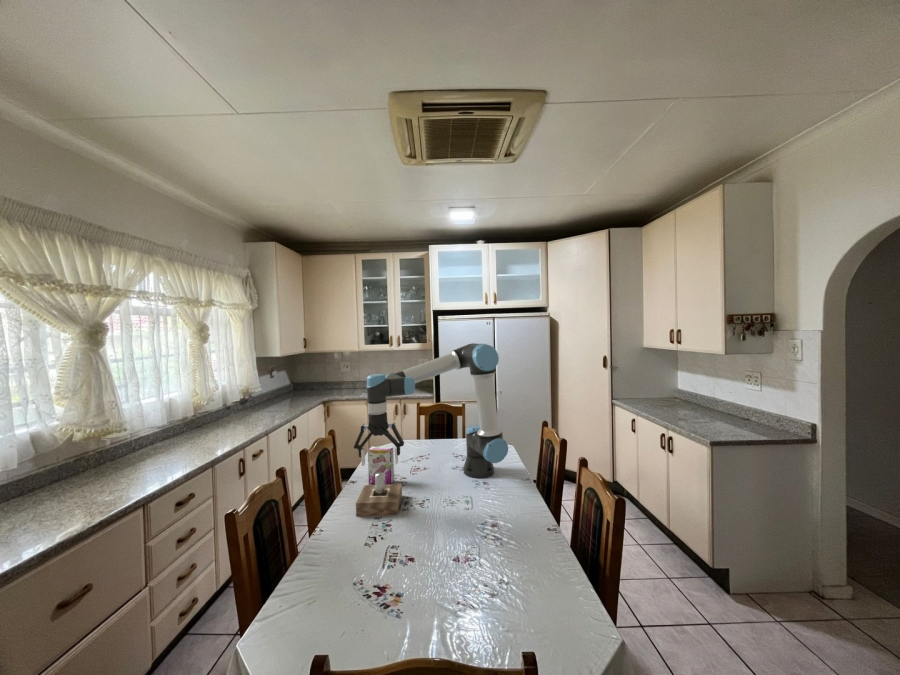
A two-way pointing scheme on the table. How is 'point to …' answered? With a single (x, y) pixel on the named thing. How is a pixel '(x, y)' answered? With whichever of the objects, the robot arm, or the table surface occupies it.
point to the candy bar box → (381, 463)
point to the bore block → (379, 501)
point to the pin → (380, 484)
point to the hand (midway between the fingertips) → (380, 463)
